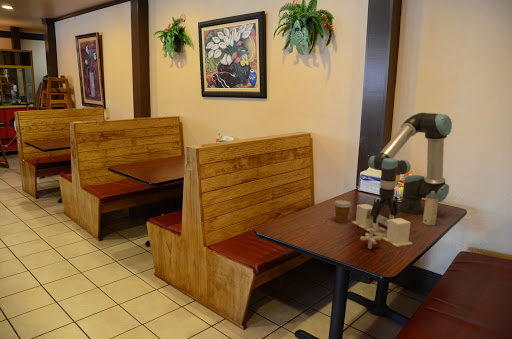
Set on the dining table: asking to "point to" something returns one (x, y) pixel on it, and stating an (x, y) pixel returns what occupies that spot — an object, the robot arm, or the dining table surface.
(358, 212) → the sleeve
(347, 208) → the disposable coffee cup
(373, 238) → the pipe connector
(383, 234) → the board
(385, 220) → the tube
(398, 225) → the socket
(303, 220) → the dining table surface
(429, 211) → the aerosol can
